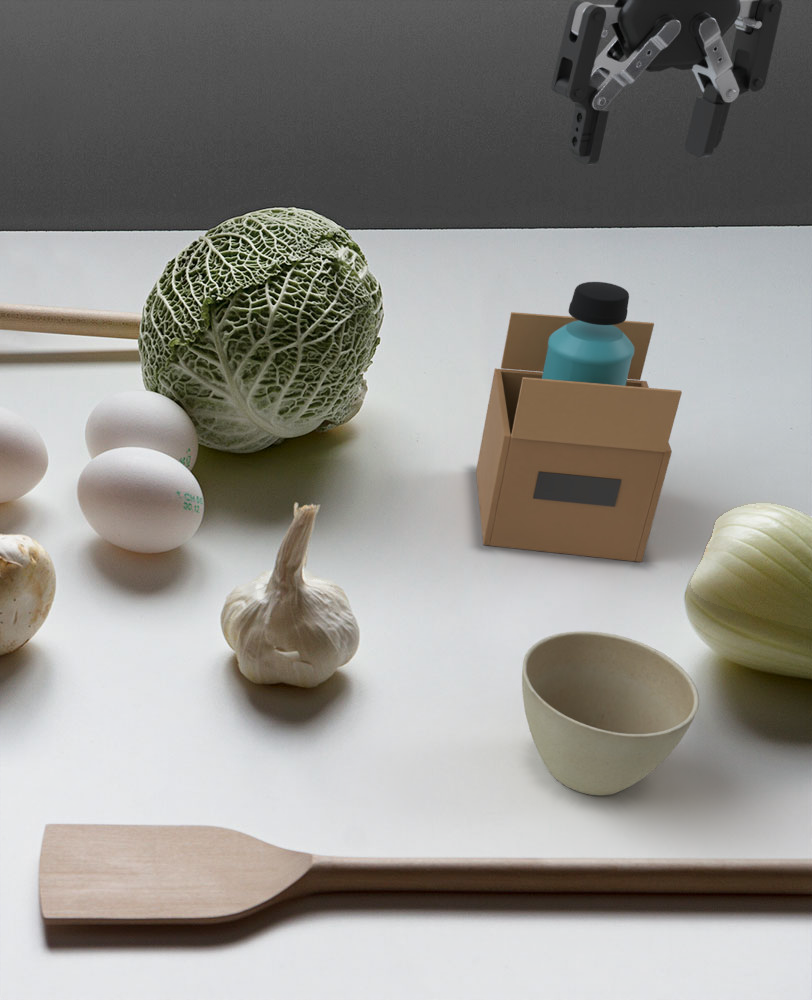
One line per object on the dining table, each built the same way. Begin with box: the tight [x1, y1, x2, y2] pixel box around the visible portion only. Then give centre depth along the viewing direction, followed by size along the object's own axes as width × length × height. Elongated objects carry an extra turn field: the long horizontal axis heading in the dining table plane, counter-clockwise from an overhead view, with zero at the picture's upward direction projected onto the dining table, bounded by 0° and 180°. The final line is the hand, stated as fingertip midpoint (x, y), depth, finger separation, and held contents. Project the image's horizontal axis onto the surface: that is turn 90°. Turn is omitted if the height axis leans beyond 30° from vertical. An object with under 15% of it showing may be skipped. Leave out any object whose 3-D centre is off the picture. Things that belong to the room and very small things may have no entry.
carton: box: [475, 311, 682, 563], centre depth 104 cm, size 12×13×15 cm
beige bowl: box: [521, 630, 700, 796], centre depth 80 cm, size 10×10×7 cm
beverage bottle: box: [542, 281, 634, 386], centre depth 102 cm, size 6×7×20 cm
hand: (641, 157), depth 89 cm, fingers open, 8 cm apart
